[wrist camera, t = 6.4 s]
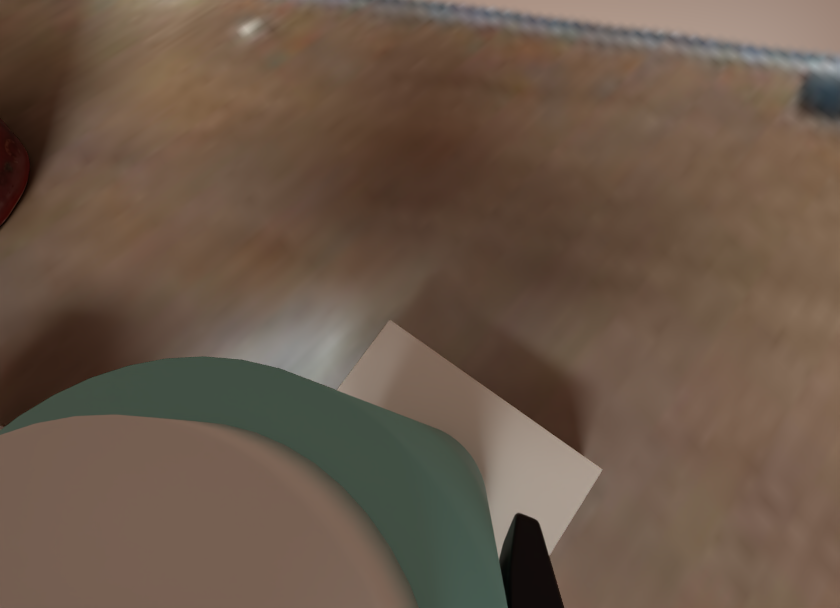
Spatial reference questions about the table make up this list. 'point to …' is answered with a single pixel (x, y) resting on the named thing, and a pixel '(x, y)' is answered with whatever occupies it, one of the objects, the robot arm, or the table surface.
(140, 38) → the table surface
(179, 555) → the thermos
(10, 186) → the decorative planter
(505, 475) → the block
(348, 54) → the table surface
